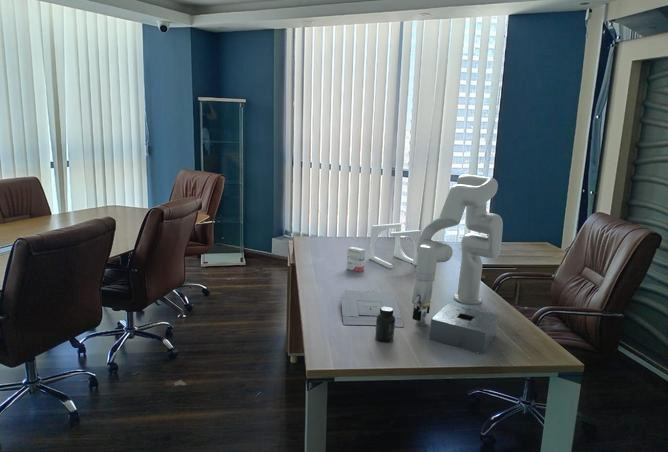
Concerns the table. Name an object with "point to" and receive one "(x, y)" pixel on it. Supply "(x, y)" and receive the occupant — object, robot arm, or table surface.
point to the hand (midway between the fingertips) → (420, 316)
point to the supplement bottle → (385, 325)
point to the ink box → (355, 259)
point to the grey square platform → (463, 327)
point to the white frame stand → (398, 250)
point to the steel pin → (423, 314)
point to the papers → (367, 307)
